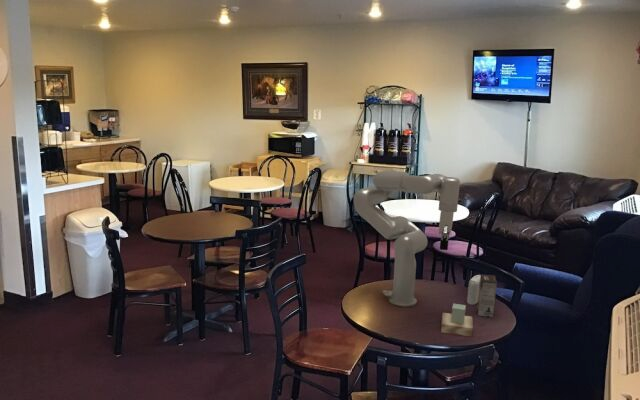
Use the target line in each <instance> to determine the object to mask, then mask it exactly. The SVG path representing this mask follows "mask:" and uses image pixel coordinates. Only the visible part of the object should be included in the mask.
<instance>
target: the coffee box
mask: <svg viewBox="0 0 640 400" xmlns="http://www.w3.org/2000/svg"><path fill="white" fill-rule="evenodd" d="M480 275H481V277H480V286H479V295H478V303H476V306H477V314H478V316H480V317H487V316H489V317H488V318H493V317H494V309H495V301H496V293H497V286H498V285H497V283H498V282H497V277H496V275H494V274H493V275H492V274H480Z"/></svg>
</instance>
